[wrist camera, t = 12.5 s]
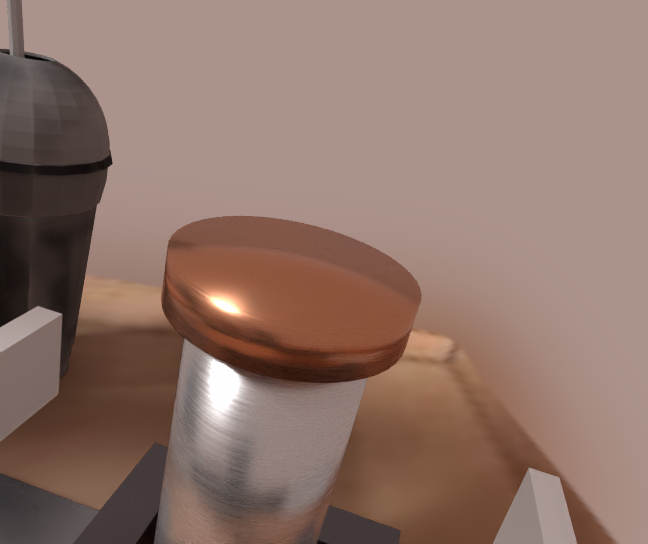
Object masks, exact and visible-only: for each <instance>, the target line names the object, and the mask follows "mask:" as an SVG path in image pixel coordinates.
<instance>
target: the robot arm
mask: <svg viewBox="0 0 648 544" xmlns="http://www.w3.org/2000/svg"><path fill="white" fill-rule="evenodd" d="M61 332H62V314H61V313H58V312H55V311H51V310H48V309H45V308H42V307H39V306H37V307H35V308H34V309H32V310H30V311H28V312H27V313H25V314H23V315H21V316H20V317H18V318H16V319H14V320H12V321H11V322H9V323H7V324H5V325H4V326H2V327H0V442H1V441H2V440H3V439H4V438H6V437H7V436H8V435H9V434H11V433H12V432H13V431H14V430H15V429H17V428H18V427H19V426H20V425H22V424H23V423H24V422H25V421H26V420H28V419H29V418H30V417H31V416H33V415H34V414H35V413H36V412H37V411H39V410H40V409H41V408H42V407H44V406H45V405H46V404H47V403H48V402H50V401H51V400H52V399H53V398H55V397H56V396H57V395H58V393H59V373H60V352H61ZM493 544H577V541H576V538H575V534H574V530H573V526H572V523H571V519H570V515H569V511H568V508H567V504H566V500H565V497H564V493H563V489H562V485H561V482H560V478H559V477H557V476H553V475H550V474H547V473H544V472H541V471H538V470H535V469H532V468H528V470H527V473H526V475H525V477H524V479H523V481H522V483H521V485H520V487H519V489H518V491H517V494H516V496H515V498H514V500H513V502H512V504H511V506H510V508H509V510H508V512H507V515H506V517H505V519H504V521H503V523H502V525H501V527H500V529H499V531H498V533H497V536H496V538H495V540H494V542H493Z"/></svg>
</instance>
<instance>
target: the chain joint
mask: <svg viewBox="0 0 648 544" xmlns="http://www.w3.org/2000/svg"><path fill="white" fill-rule="evenodd" d="M167 451H168V447H166V446H163V445H160V444H157V443H154V445H153V446H152V447H151V448H150V450H149V451H148V452H147V453H146V454H145V456H144V457H143V458H142V459H141V461H140V462H139V463H138V464H137V466H136V467H135V468H134V469H133V470H132V472H131V473H130V474H129V475H128V477H127V478H126V479H125V480H124V481H123V483H122V484H121V485H120V486H119V488H118V489H117V490H116V491H115V493H114V494H113V495H112V496H111V497H110V499H109V500H108V501H107V502H106V504H105V505H104V506H103V507H102V508H101V510H100V511H98V510H95V509H92V508H90V507H87V506H84V505H82V504H79V503H77V502H74V501H71V500H69V499H66V498H63V497H61V496H58V495H56V494H53V493H50V492H48V491H45V490H42V489H40V488H37V487H35V486H32V485H29V484H27V483H24V482H21V481H19V480H16V479H13V478H11V477H8V476H6V475H3V474H0V544H154V539H155V532H156V526H157V519H158V512H159V505H160V498H161V492H162V485H163V478H164V471H165V464H166V458H167ZM399 538H400V530H398V529H395V528H392V527H389V526H386V525H384V524H381V523H378V522H375V521H372V520H370V519H367V518H364V517H361V516H358V515H356V514H353V513H350V512H347V511H344V510H342V509H339V508H336V507H333V506H330V505H329V506H328V509H327V513H326V516H325V519H324V522H323V526H322V529H321V532H320V535H319V539H318V542H317V544H399Z"/></svg>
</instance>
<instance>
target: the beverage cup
mask: <svg viewBox="0 0 648 544" xmlns="http://www.w3.org/2000/svg"><path fill="white" fill-rule="evenodd" d="M7 13H8V29H9V45H10V50H9V49H0V327H2V326H4V325H5V324H7V323H9V322H11V321H12V320H14V319H16V318H18V317H20V316H21V315H23V314H25V313H27V312H28V311H30V310H32V309H34V308H35V307H37V306H39V307H42V308H45V309H48V310H51V311H55V312H58V313H61V314H62V332H61V352H60V373H59V378H61V377H62V376H63V375H64V374H65V372H66V371H67V369H68V363H69V357H70V354H71V349H72V345H73V344H74V339H75V333H76V327H77V321H78V315H79V309H80V303H81V297H82V291H83V285H84V279H85V273H86V266H87V261H88V255H89V249H90V243H91V237H92V230H93V225H94V219H95V213H96V207H97V204H98V203H99V202H100V200H101V196H102V193H103V190H104V187H105V183H106V179H107V169H108V167H109V166H110V165H112V158H111V152H110V149H109V136H108V129H107V124H106V120H105V117H104V114H103V111H102V109H101V107H100V105H99V103H98V101H97V99H96V97H95V96H94V94H93V93H92V91H91V90H90V88H89V87H88V86H87V85H86V84H85V83H84V82H83V80H82V79H81V78H80V77H79V76H78V75H76V74H75V73H74V72H73V71H71V70H70V69H69V68H68V67H66V66H64V65H63V64H61V63H59V62H58V61H56V60H54V59H53V58H49V57H46V56H42V55H38V54H34V53H29V52H24V40H23V39H24V38H23V19H22V1H21V0H7Z"/></svg>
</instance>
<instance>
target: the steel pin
mask: <svg viewBox="0 0 648 544" xmlns="http://www.w3.org/2000/svg"><path fill="white" fill-rule="evenodd" d="M161 302H162V308H163V311H164V313H165V316H166V318H167V319H168V321H169V322H170V324H171V325H172V326H173V327H174V329H175V330H176V331H177V332H178V333H179V334H180V335H181V336H182V337H184V342H183V349H182V355H181V362H180V369H179V376H178V383H177V389H176V396H175V403H174V410H173V417H172V423H171V430H170V437H169V444H168V451H167V458H166V464H165V471H164V478H163V485H162V492H161V498H160V505H159V512H158V519H157V526H156V532H155V539H154V544H317V542H318V539H319V535H320V532H321V529H322V526H323V522H324V519H325V516H326V513H327V509H328V506H329V503H330V499H331V496H332V493H333V490H334V486H335V483H336V480H337V477H338V473H339V470H340V467H341V463H342V460H343V457H344V454H345V450H346V447H347V444H348V441H349V437H350V434H351V431H352V428H353V424H354V421H355V418H356V414H357V411H358V408H359V405H360V401H361V398H362V395H363V392H364V388H365V385H366V382H367V378H368V377H371V376H374V375H377V374H380V373H382V372H384V371H386V370H388V369H389V368H390V367H392V366H393V365H394V364H396V363H397V362H398V360H399V359H400V358H401V357H402V355H403V353H404V350H405V348H406V345H407V342H408V339H409V336H410V333H411V330H412V327H413V323H414V320H415V317H416V314H417V311H418V308H419V305H420V302H421V291H420V287H419V286H418V283H417V281H416V280H415V279H414V277H413V276H412V275H411V274H410V273H409V272H408V271H407V270H406V269H405V268H404V267H403V266H402V265H400V264H399V263H398V262H397V261H395V260H394V259H392V258H391V257H389V256H388V255H386V254H384V253H382V252H380V251H379V250H377V249H375V248H373V247H371V246H369V245H367V244H365V243H363V242H360V241H357V240H356V239H353V238H350V237H348V236H345V235H342V234H340V233H336V232H334V231H330V230H327V229H323V228H320V227H316V226H312V225H308V224H304V223H299V222H294V221H289V220H282V219H275V218H266V217H253V216H225V217H216V218H209V219H204V220H200V221H197V222H193V223H190V224H188V225H186V226H184V227H182V228H180V229H179V230H177V231H176V232H175V233H174V234H173V235H172V236H171V238H170V240H169V243H168V249H167V256H166V265H165V273H164V280H163V289H162V297H161Z"/></svg>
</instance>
